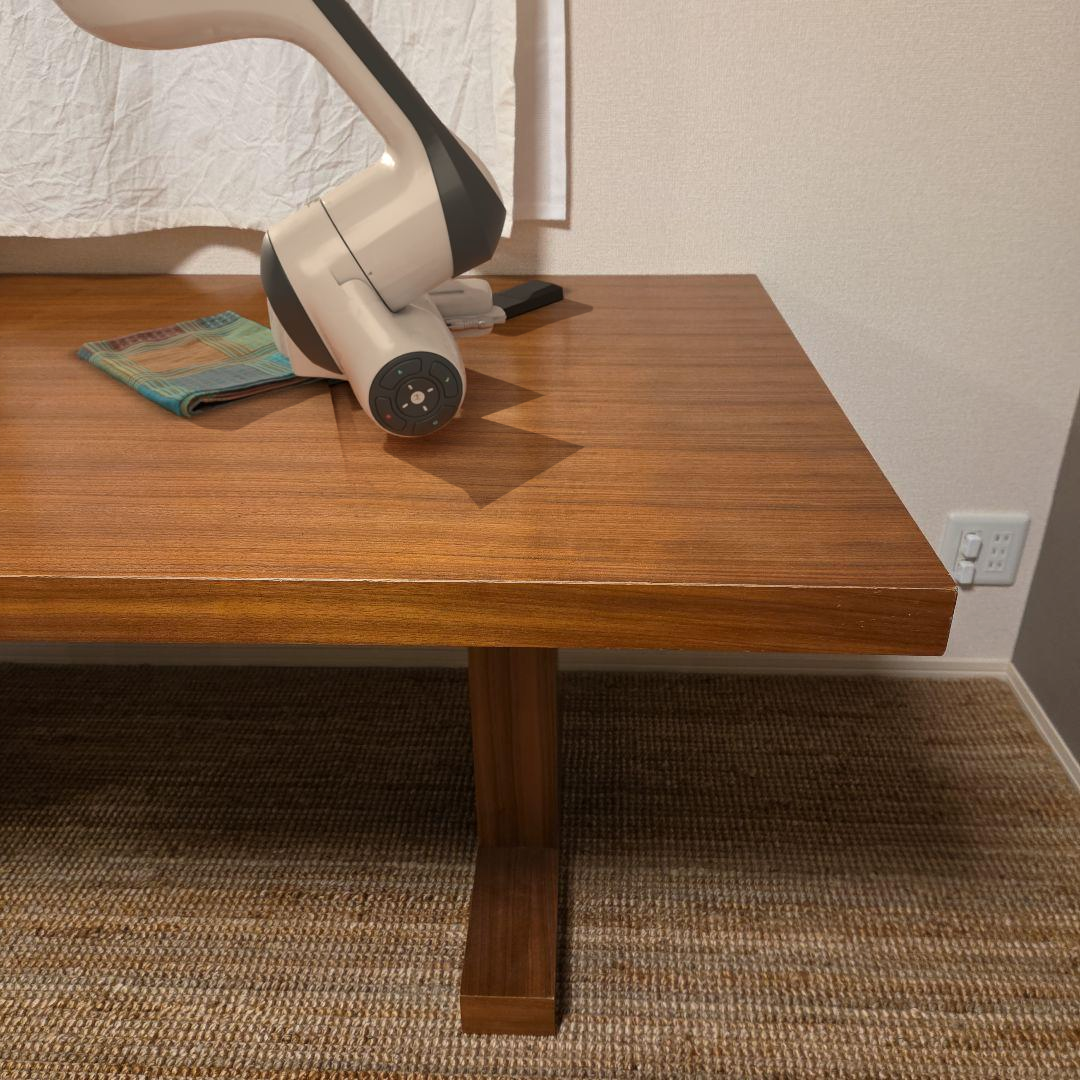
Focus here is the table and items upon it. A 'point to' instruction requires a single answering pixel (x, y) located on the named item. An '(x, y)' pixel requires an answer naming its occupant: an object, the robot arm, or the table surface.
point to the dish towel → (198, 363)
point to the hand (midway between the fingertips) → (374, 289)
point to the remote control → (527, 297)
